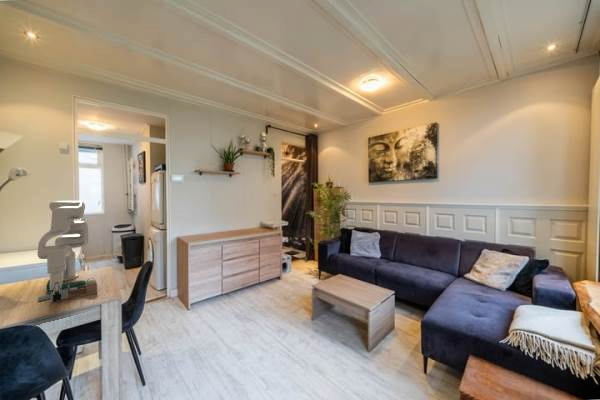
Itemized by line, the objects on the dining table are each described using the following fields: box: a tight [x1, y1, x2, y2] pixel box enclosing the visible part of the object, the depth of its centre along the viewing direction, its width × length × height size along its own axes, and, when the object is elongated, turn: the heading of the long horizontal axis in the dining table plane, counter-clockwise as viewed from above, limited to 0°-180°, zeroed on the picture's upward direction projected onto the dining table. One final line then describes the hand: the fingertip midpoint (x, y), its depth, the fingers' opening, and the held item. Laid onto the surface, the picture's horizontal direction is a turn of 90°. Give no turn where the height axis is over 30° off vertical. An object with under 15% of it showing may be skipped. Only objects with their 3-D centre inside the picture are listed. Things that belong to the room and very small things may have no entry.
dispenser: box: [67, 277, 98, 300], centre depth 143 cm, size 8×13×8 cm, turn 137°
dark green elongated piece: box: [45, 278, 87, 294], centre depth 152 cm, size 18×7×8 cm, turn 134°
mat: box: [37, 294, 51, 303], centre depth 137 cm, size 7×8×1 cm
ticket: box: [50, 287, 77, 303], centre depth 137 cm, size 2×11×5 cm, turn 137°
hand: (57, 298), depth 135 cm, fingers open, 6 cm apart
